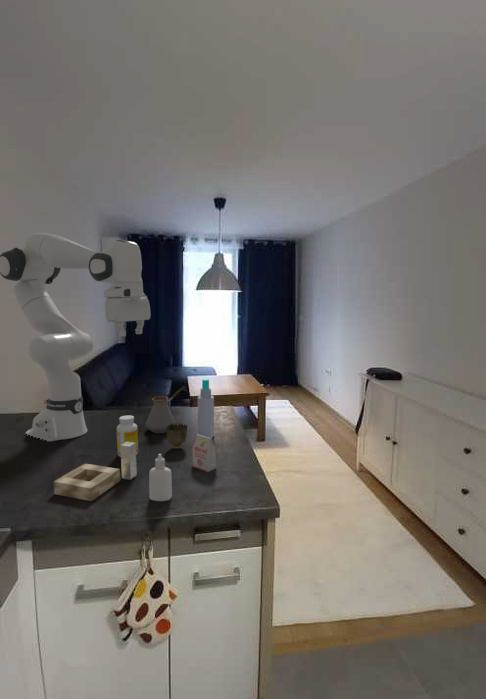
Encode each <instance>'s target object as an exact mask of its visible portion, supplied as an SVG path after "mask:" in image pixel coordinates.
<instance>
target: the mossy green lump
mask: <svg viewBox="0 0 486 699" xmlns="http://www.w3.org/2000/svg"><path fill="white" fill-rule="evenodd" d="M165 433H166V439H167V442H168V443H169V444H170V445H171V449H173V450H175V451H176V450H182V448H183V444H184V443H186V440H187V435H188V434H187V433H188V424H183V423H180V422H179V423H175V425H173V424H170V425H167V428H166V432H165Z"/></svg>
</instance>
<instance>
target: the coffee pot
mask: <svg viewBox="0 0 486 699" xmlns="http://www.w3.org/2000/svg"><path fill="white" fill-rule="evenodd" d="M187 389H188V388H187V387H186V386H185V385H183V386H182V387H180V388H179V390H177V391H175V393H174V394H173V395H172V396H171V397H168V396H156V397H155V396H154V397H153V398H151V400H152V403H153V405H152V407H151V410H150V412H149V414H148V418H147V420H146V422H145V426H146V428H147V430H149V431H150V432H152V433H153V434H165V433H166V428H167V425H170V424H173V425H175V424H176V420H175V418H174V416H173V413H172V412H171V409H170V407H169V406H168V404H169V403H170V402H171V401H172V400H173V399H174V398H176V397H177V395H179V394H180V392H183V391H187Z"/></svg>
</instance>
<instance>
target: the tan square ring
mask: <svg viewBox="0 0 486 699" xmlns="http://www.w3.org/2000/svg"><path fill="white" fill-rule="evenodd" d="M120 471H121V469H120V468H115V467H111V466H110V467H108V466H102V465H99V464H98V465H97V464H90V463H83V464H82V465H79V466H78V467H76V468H74V469H73V470H71V471H69V472H68V473H66V474H64V475H62V476H61V477H58V478H57V479H55V480H54V481H53V494H54V495H58V496H63V497H67V498H72V499H78V500H84V501H88V502H93V501H95V500H96V499H97V498H99V497H100V496H101V495H103V494H104V493H105V492H107V491H108V490H109V489H111V488H112V487H115V485H117V484H118V483H120V481H121V472H120Z"/></svg>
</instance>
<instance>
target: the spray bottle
mask: <svg viewBox="0 0 486 699" xmlns="http://www.w3.org/2000/svg"><path fill="white" fill-rule="evenodd" d="M201 384H202V386H201V387H202V388H200V391H199V392H200V394H199V396H197V434H198V435H202V436H205V437H208V438H212V439H213V437H215V396H213V395H212V389H211V387H210V379H208V378H204V379H202V382H201Z"/></svg>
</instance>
